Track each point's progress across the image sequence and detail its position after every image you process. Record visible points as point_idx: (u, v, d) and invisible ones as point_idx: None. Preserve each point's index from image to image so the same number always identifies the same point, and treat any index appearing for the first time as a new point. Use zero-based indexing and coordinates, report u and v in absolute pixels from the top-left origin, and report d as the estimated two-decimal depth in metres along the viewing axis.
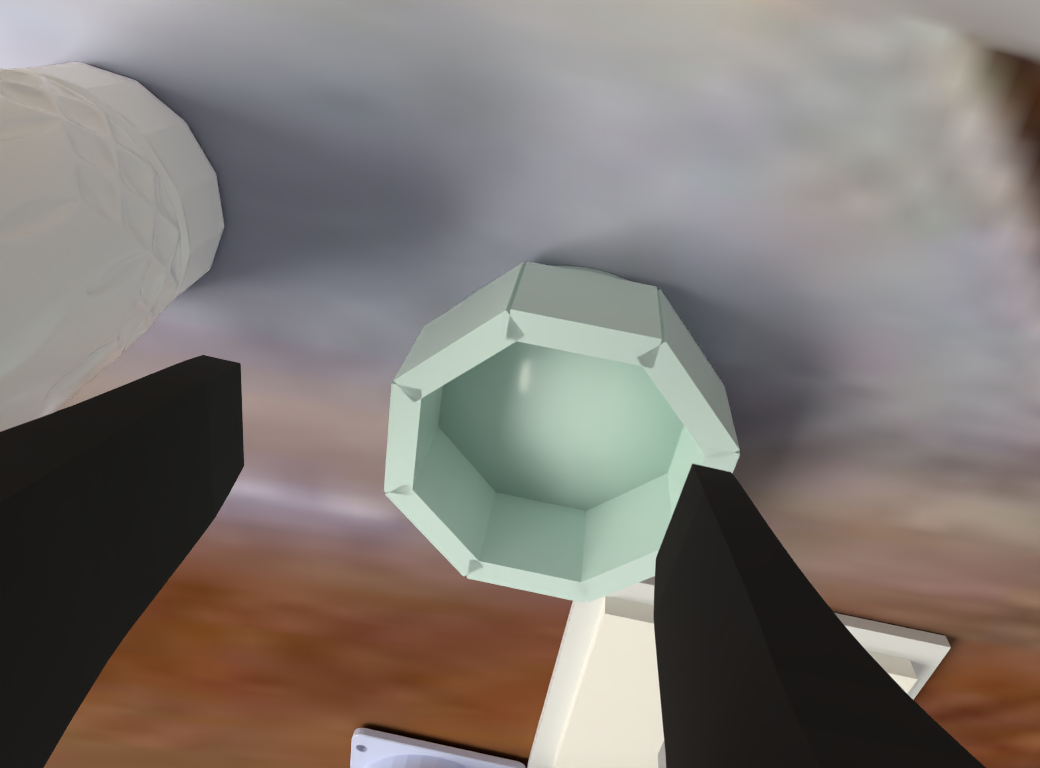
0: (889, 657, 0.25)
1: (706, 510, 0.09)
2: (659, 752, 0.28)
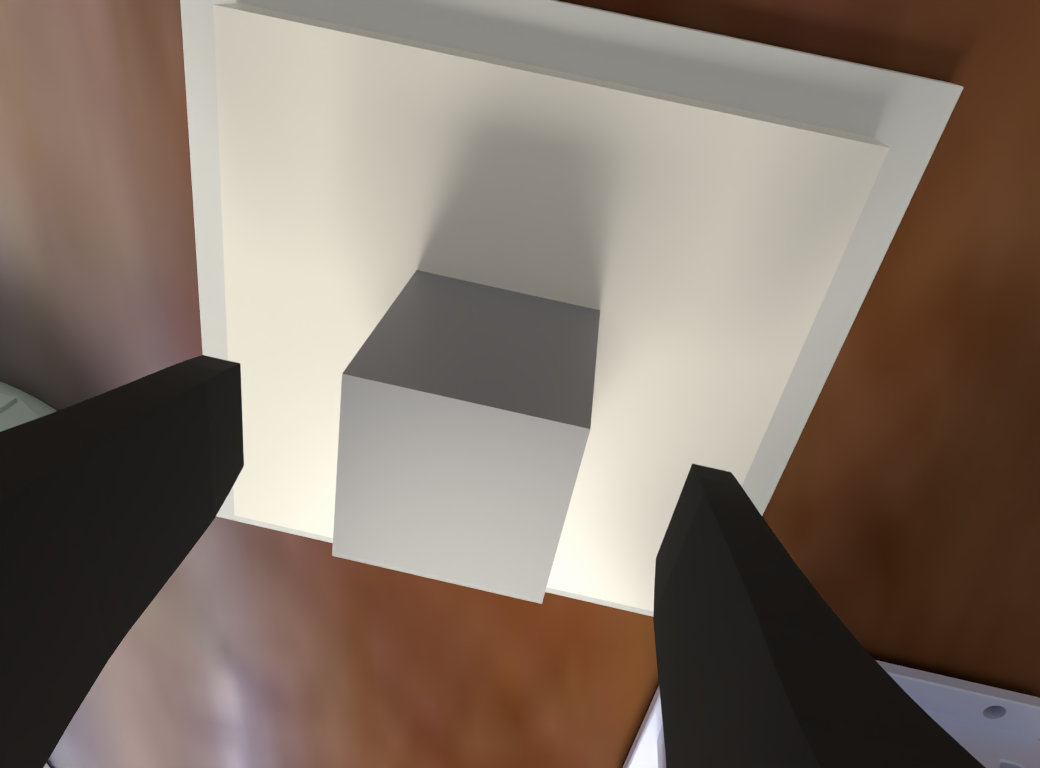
0: None
1: (706, 510, 0.09)
2: None
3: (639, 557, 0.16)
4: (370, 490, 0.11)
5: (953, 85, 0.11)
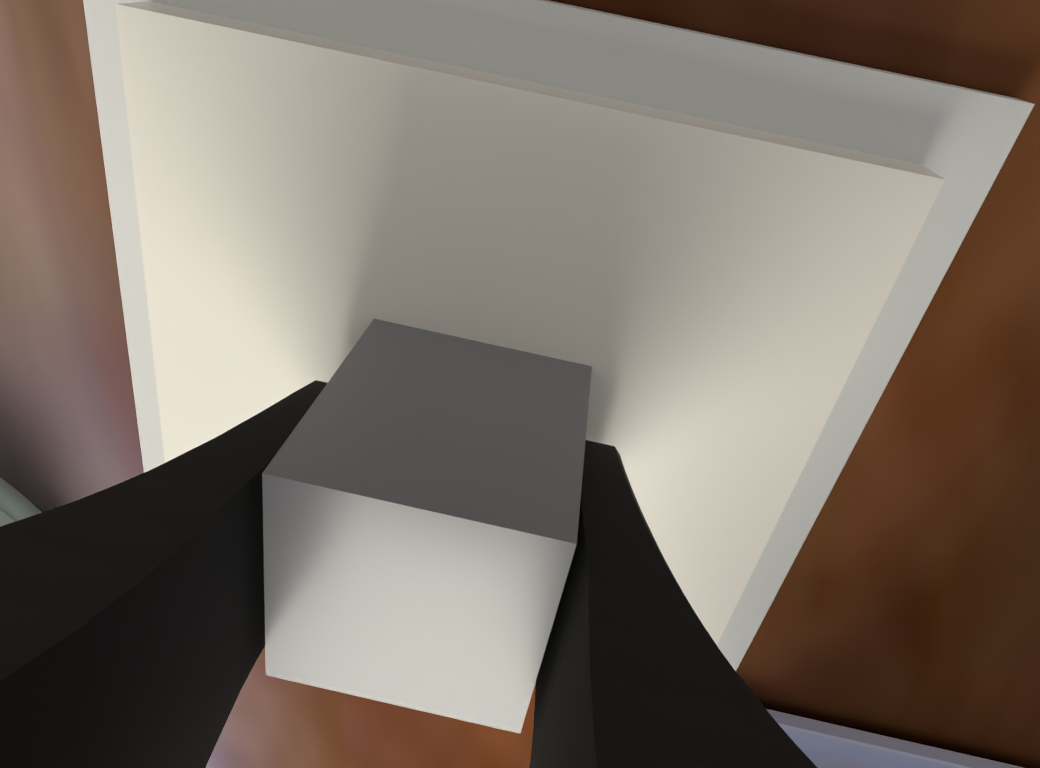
0: None
1: None
2: None
3: None
4: (306, 605, 0.09)
5: (1021, 102, 0.09)
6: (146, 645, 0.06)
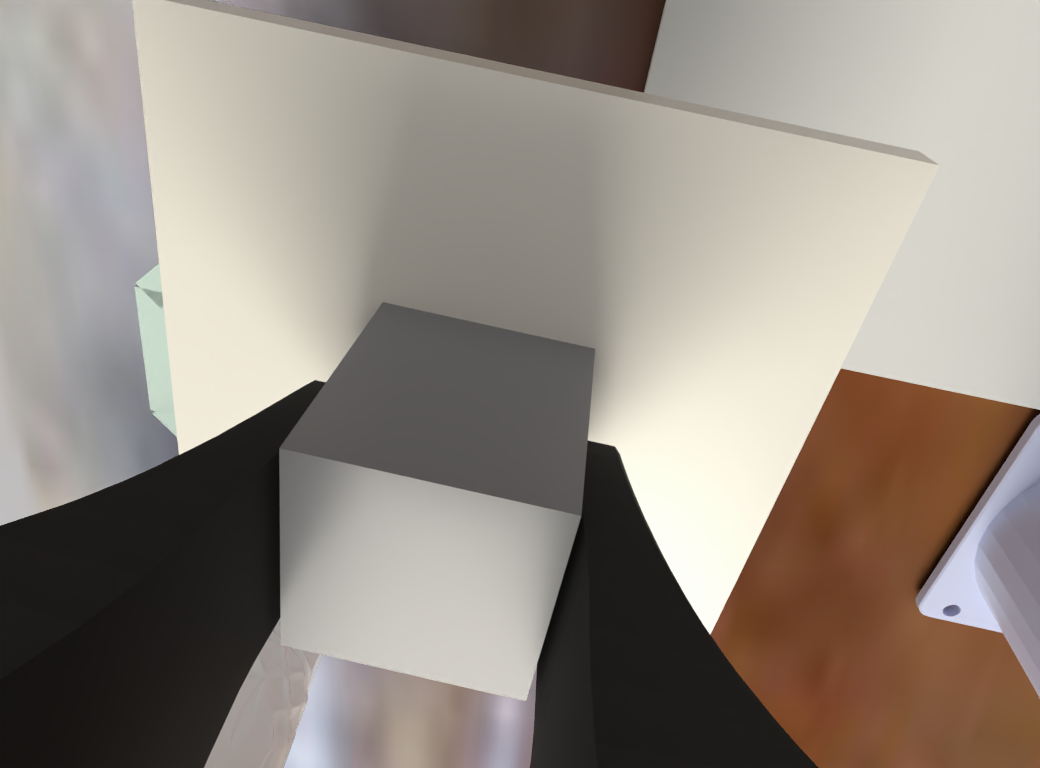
0: None
1: None
2: None
3: None
4: (321, 577, 0.09)
5: None
6: (143, 646, 0.06)
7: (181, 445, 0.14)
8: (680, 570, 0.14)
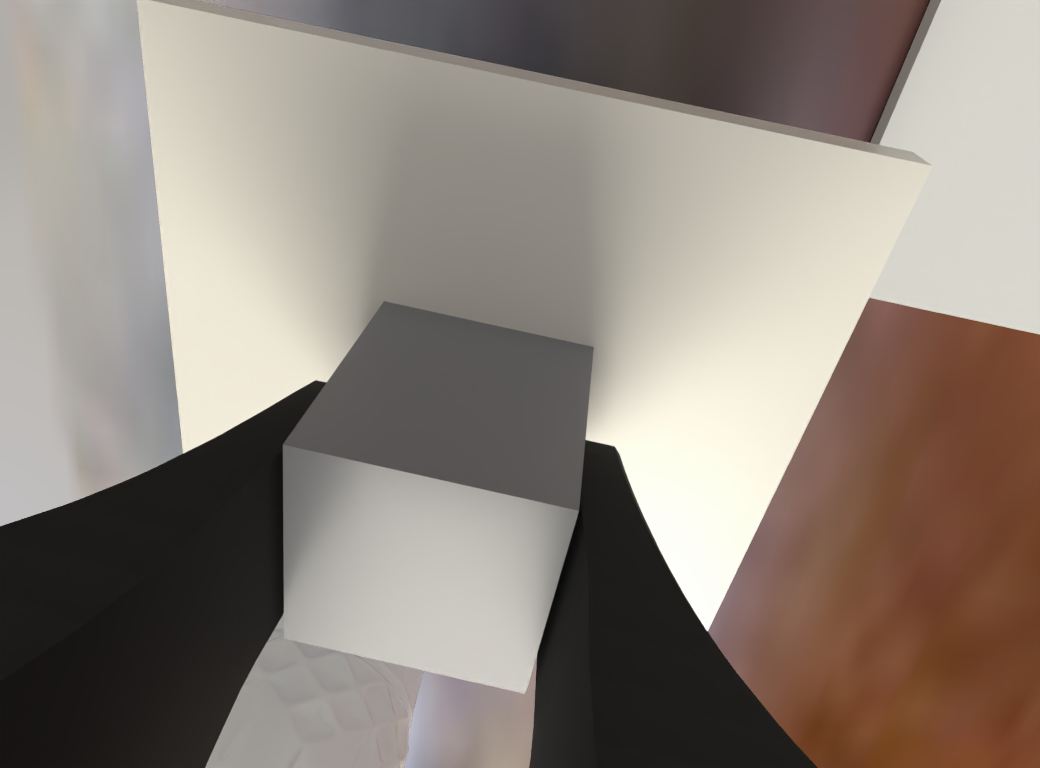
0: None
1: None
2: None
3: None
4: (323, 570, 0.09)
5: None
6: (145, 646, 0.06)
7: (185, 442, 0.14)
8: (678, 566, 0.14)
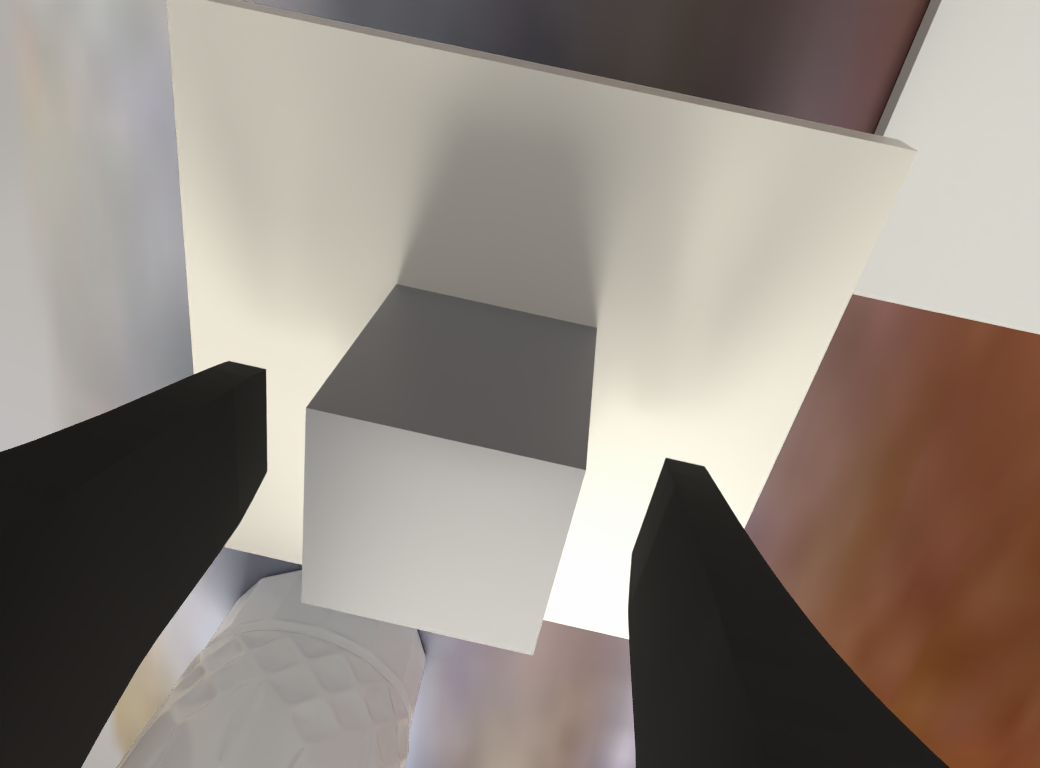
0: None
1: (677, 503, 0.09)
2: None
3: None
4: (341, 533, 0.10)
5: None
6: None
7: None
8: None
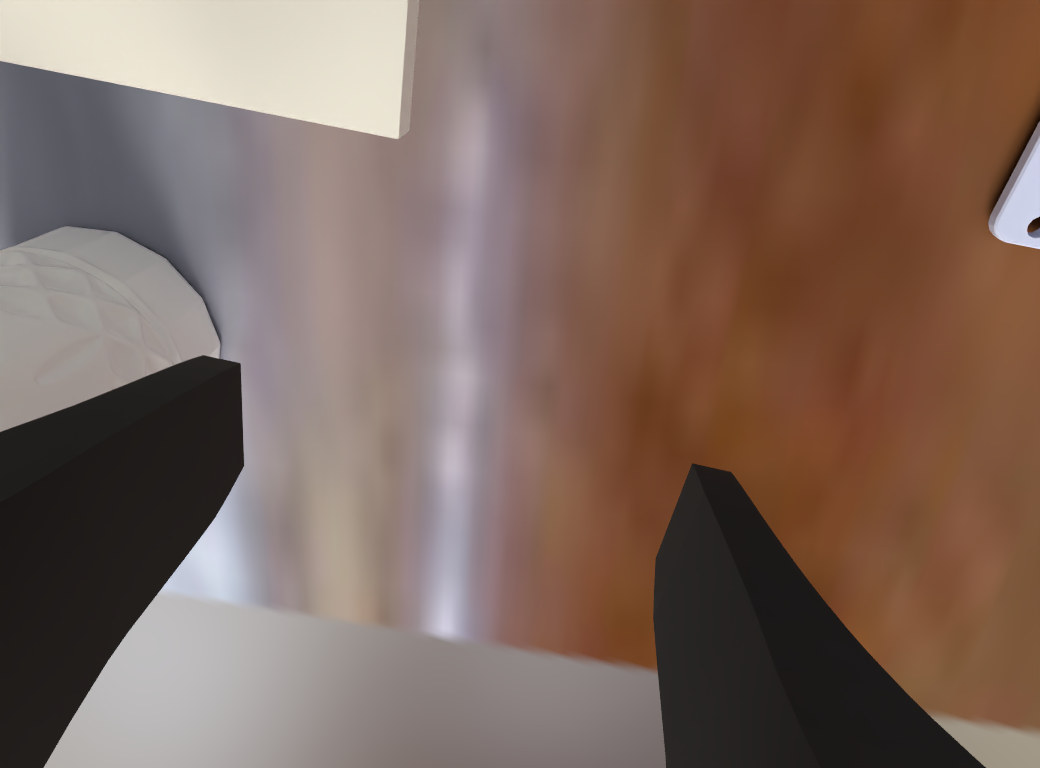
0: None
1: (707, 510, 0.09)
2: None
3: (323, 36, 0.13)
4: None
5: None
6: None
7: None
8: None
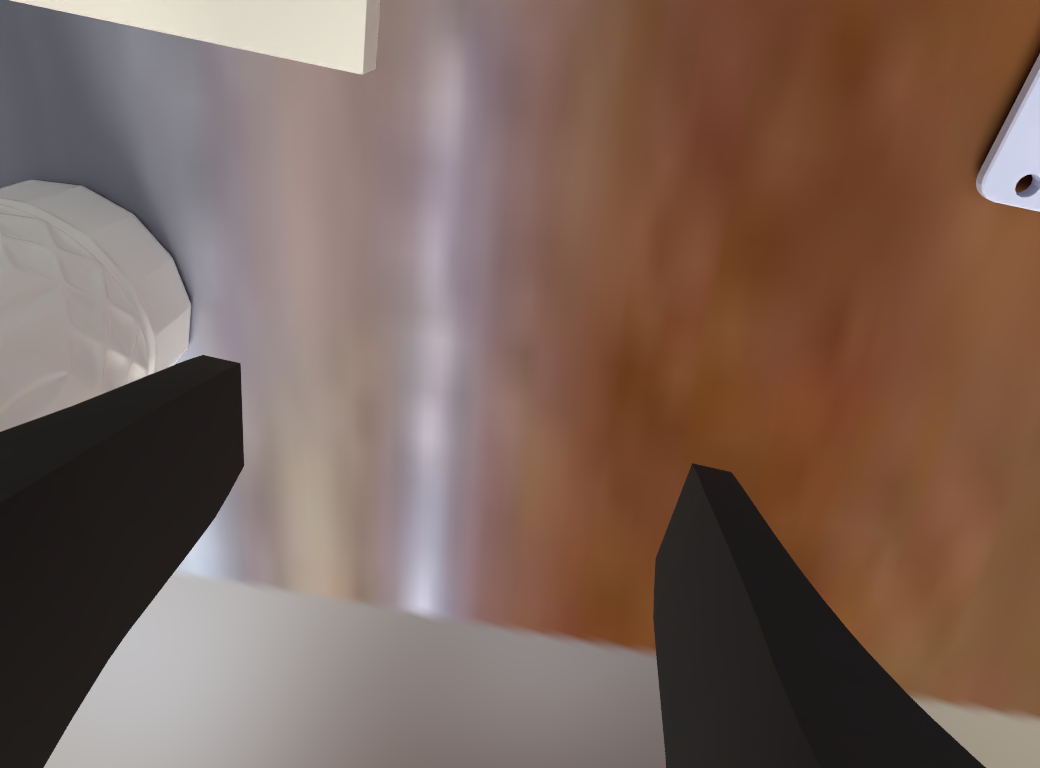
0: None
1: (706, 510, 0.09)
2: None
3: None
4: None
5: None
6: None
7: None
8: None
